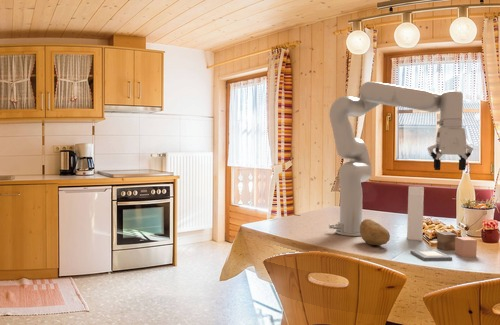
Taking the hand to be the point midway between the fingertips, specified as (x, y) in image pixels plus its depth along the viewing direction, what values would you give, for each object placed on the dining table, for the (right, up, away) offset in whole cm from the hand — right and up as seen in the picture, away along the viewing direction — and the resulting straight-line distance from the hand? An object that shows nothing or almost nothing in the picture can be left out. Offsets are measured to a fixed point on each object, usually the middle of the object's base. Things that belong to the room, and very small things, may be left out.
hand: (449, 170), depth 165 cm
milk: (-6, -29, +19) cm, 35 cm away
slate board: (-11, -30, -11) cm, 34 cm away
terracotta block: (+2, -30, -7) cm, 31 cm away
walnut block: (0, -30, +1) cm, 30 cm away
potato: (-27, -30, +6) cm, 40 cm away
